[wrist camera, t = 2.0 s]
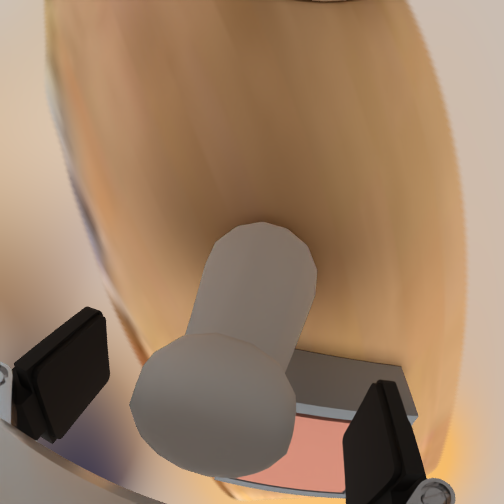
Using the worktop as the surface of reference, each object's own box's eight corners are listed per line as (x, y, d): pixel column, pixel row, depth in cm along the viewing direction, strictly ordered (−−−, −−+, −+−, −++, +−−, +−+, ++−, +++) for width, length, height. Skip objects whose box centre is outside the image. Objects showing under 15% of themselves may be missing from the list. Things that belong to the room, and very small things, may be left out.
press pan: (253, 395, 17) (250, 407, 16) (392, 415, 16) (394, 427, 15) (232, 467, 20) (230, 477, 19) (341, 482, 19) (341, 492, 18)
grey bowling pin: (336, 259, 18) (380, 453, 5) (271, 323, 20) (228, 514, 7) (258, 192, 17) (152, 296, 5) (198, 264, 19) (69, 418, 7)
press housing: (249, 338, 20) (234, 389, 15) (401, 366, 19) (418, 415, 15) (227, 435, 24) (214, 479, 19) (347, 454, 23) (349, 498, 18)
